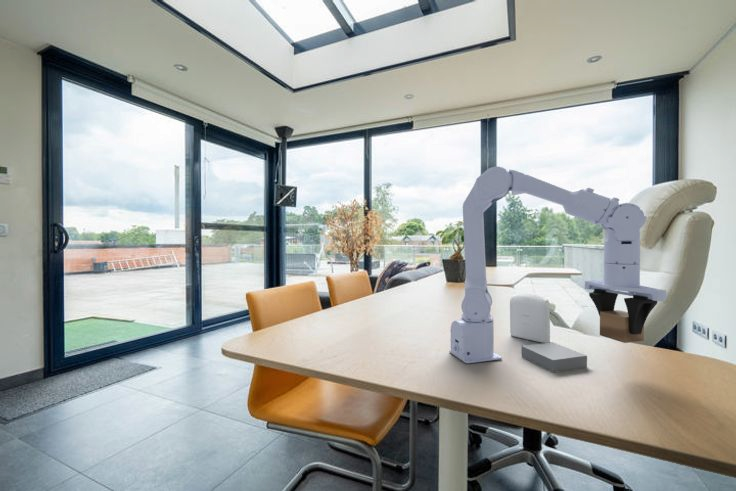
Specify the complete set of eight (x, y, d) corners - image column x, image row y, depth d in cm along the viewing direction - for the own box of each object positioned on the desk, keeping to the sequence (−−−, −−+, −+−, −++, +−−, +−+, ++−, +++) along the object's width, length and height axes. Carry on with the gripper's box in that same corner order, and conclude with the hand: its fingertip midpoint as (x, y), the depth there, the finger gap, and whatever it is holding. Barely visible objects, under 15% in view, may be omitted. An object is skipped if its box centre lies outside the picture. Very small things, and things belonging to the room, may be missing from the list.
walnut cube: (624, 342, 61) (624, 317, 61) (599, 335, 66) (599, 311, 66) (643, 340, 62) (644, 315, 62) (618, 333, 67) (618, 310, 67)
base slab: (552, 374, 66) (552, 360, 65) (521, 358, 74) (521, 345, 74) (586, 369, 68) (587, 355, 68) (552, 354, 76) (552, 342, 76)
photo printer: (507, 336, 90) (507, 293, 90) (514, 333, 93) (514, 291, 92) (546, 345, 82) (546, 298, 82) (552, 341, 85) (552, 295, 84)
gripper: (678, 265, 58) (677, 338, 58) (602, 260, 72) (601, 319, 72) (650, 266, 56) (649, 342, 56) (577, 261, 70) (577, 321, 70)
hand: (620, 329), depth 64 cm, fingers closed on walnut cube, 5 cm apart
